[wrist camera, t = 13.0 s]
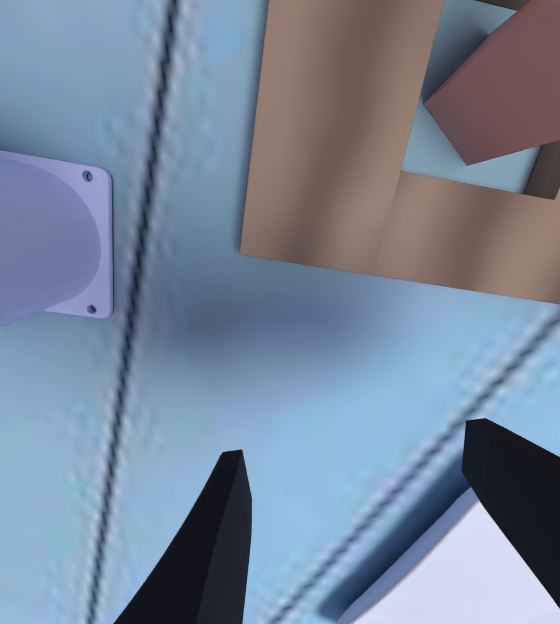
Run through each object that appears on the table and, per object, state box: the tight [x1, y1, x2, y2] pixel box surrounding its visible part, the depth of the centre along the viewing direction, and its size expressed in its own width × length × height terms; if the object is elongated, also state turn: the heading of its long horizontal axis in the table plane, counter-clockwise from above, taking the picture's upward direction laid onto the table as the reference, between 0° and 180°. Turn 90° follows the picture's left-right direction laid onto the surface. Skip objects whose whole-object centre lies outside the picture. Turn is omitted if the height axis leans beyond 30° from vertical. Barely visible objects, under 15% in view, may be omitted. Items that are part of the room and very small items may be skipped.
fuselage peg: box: [423, 0, 560, 166], centre depth 11 cm, size 4×4×8 cm
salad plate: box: [336, 487, 560, 624], centre depth 24 cm, size 21×21×3 cm
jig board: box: [239, 0, 560, 304], centre depth 14 cm, size 22×18×2 cm
